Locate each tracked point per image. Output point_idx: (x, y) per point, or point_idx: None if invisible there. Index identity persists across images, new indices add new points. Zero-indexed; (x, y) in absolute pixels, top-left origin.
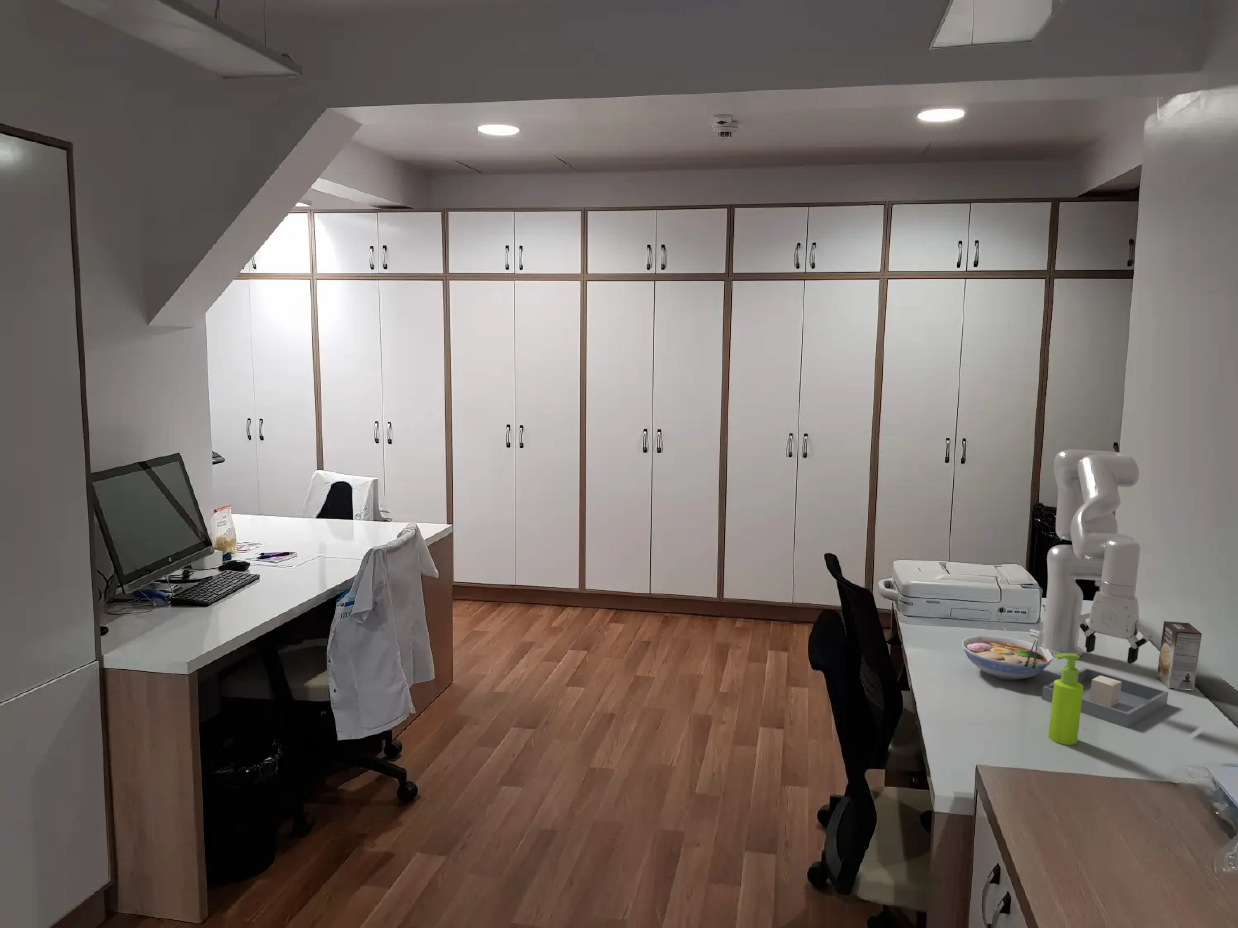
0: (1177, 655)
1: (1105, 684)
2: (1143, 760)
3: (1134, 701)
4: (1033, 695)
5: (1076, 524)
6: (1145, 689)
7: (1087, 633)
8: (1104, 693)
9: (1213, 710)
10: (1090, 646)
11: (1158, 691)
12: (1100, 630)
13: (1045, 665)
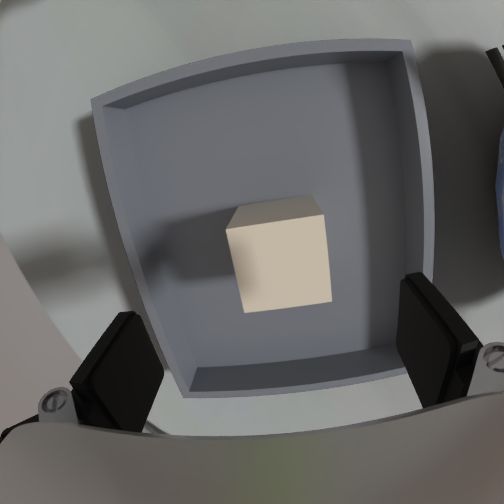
0: None
1: (259, 223)
2: (32, 18)
3: (237, 323)
4: (434, 88)
5: None
6: (238, 383)
7: (497, 365)
8: (261, 212)
9: (153, 417)
10: (416, 311)
11: (202, 388)
12: (382, 452)
13: (501, 192)
